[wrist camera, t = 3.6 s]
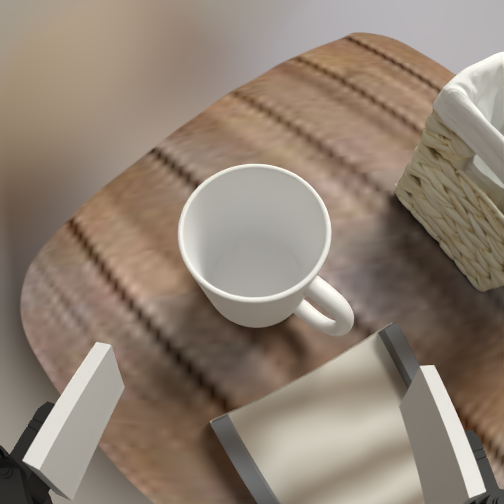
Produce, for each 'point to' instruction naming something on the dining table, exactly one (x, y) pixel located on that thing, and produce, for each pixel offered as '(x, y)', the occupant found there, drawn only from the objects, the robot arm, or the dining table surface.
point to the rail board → (331, 431)
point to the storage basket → (463, 173)
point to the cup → (261, 248)
